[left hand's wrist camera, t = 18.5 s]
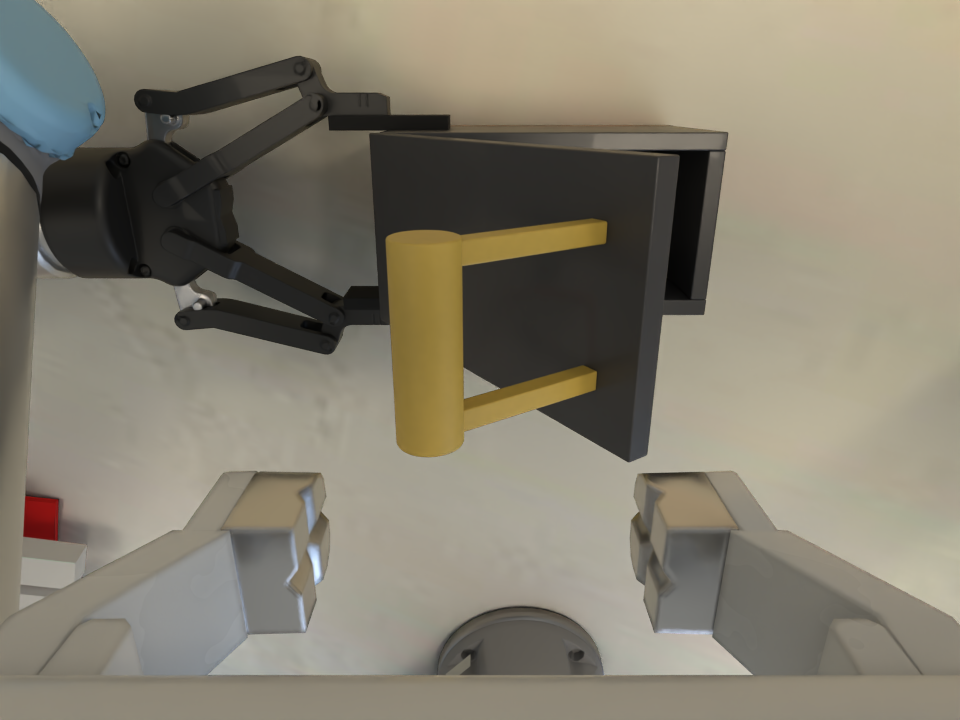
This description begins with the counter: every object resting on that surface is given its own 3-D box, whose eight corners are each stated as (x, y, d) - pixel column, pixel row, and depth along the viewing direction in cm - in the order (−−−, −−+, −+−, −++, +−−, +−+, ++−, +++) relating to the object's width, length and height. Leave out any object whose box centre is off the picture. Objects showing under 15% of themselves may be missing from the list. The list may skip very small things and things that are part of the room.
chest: (668, 125, 42) (728, 132, 32) (653, 267, 46) (704, 315, 36) (403, 125, 42) (378, 132, 32) (409, 267, 46) (388, 315, 36)
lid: (680, 154, 18) (429, 170, 14) (647, 455, 21) (439, 542, 17) (385, 132, 32) (215, 136, 28) (395, 316, 35) (245, 345, 31)
